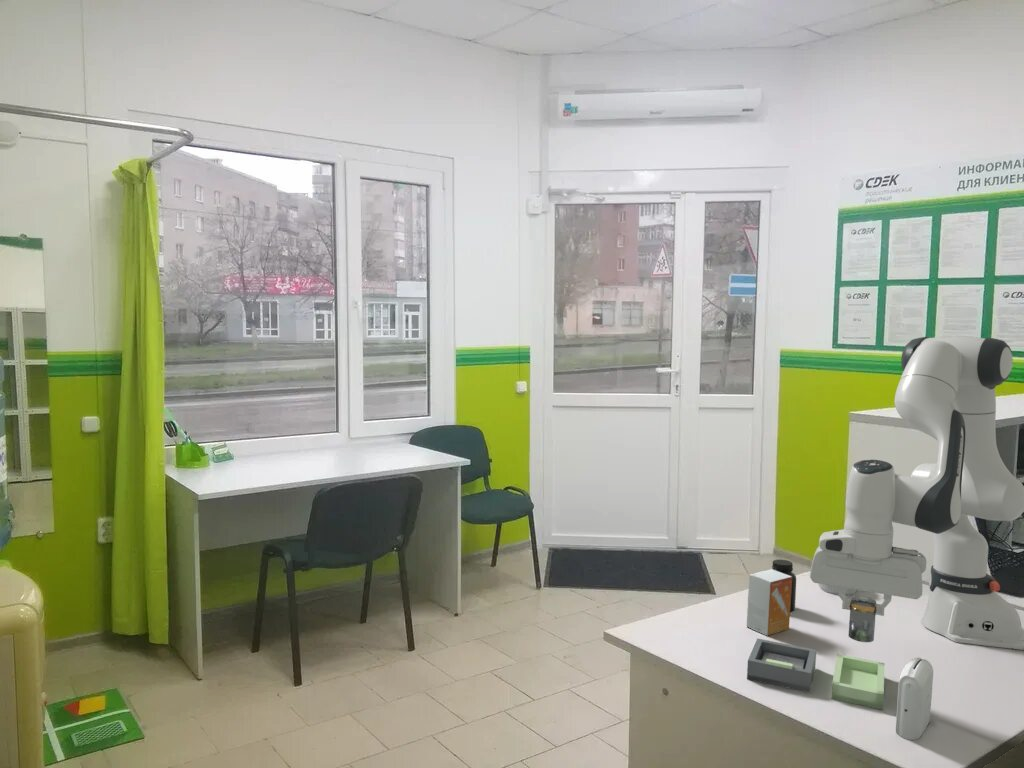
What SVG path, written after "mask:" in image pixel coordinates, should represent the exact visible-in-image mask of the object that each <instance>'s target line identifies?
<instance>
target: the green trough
mask: <svg viewBox="0 0 1024 768" xmlns="http://www.w3.org/2000/svg"><path fill="white" fill-rule="evenodd" d="M885 665H886V664H885V662H881V661H875V660H869V659H866V658H860V657H856V656H850V655H846V654H845V655H844V654H839V653H837V655H836V661H835V666H834V672H833V678H832V684H831V699H832V700H835V701H841V702H845V703H850V704H854V705H859V706H862V707H869V708H871V709H877V710H882V711H883V709H884V707H883V706H884V696H885V695H884V693H885V691H884V688H885Z"/></svg>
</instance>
